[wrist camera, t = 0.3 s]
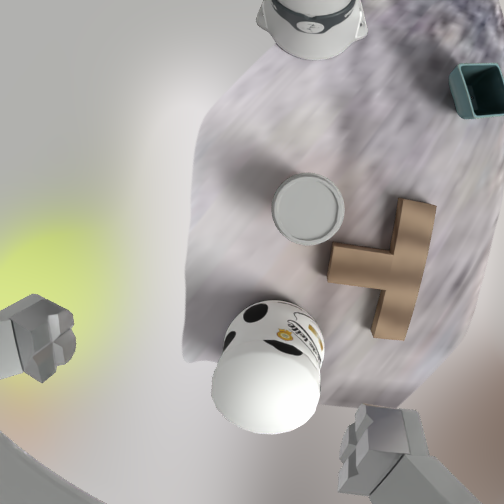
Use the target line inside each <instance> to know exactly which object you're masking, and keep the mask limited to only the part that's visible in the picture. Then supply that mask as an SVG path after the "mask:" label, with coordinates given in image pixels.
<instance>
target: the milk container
mask: <svg viewBox="0 0 504 504" xmlns="http://www.w3.org/2000/svg"><path fill="white" fill-rule="evenodd" d="M323 359H324V340H323V336H322V333H321V331H320V328H319V326H318V325H317V323H316V321H315V320H314V319H313V317H312V316H311V315H310V314H309V313H308V312H306V311H305V310H304V309H302V308H301V307H299V306H297V305H295V304H292V303H289V302H285V301H278V300H269V301H263V302H259V303H256V304H253V305H251V306H249V307H248V308H246V309H245V310H243V311H242V312H241V313H240V314H239V315H238V316H237V317H236V318H235V319H234V320H233V321H232V323H231V324H230V326H229V328H228V330H227V332H226V335H225V338H224V343H223V353H222V355H221V357H220V359H219V361H218V364H217V367H216V369H215V371H214V374H213V378H212V391H211V396H212V398H213V401H214V403H215V406H216V408H217V409H218V411H219V412H220V413H221V414H222V415H223V416H224V417H225V418H226V419H227V420H228V421H229V422H231V423H233V424H234V425H236V426H238V427H239V428H241V429H244V430H247V431H251V432H254V433H258V434H279V433H284V432H288V431H292V430H293V429H296V428H297V427H299V426H301V425H303V424H305V423H306V422H307V421H308V419H309V418H310V417H311V416H312V415H313V414H314V413H315V410H316V406H317V403H318V400H319V397H320V391H321V387H320V368H321V366H322V363H323Z"/></svg>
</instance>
